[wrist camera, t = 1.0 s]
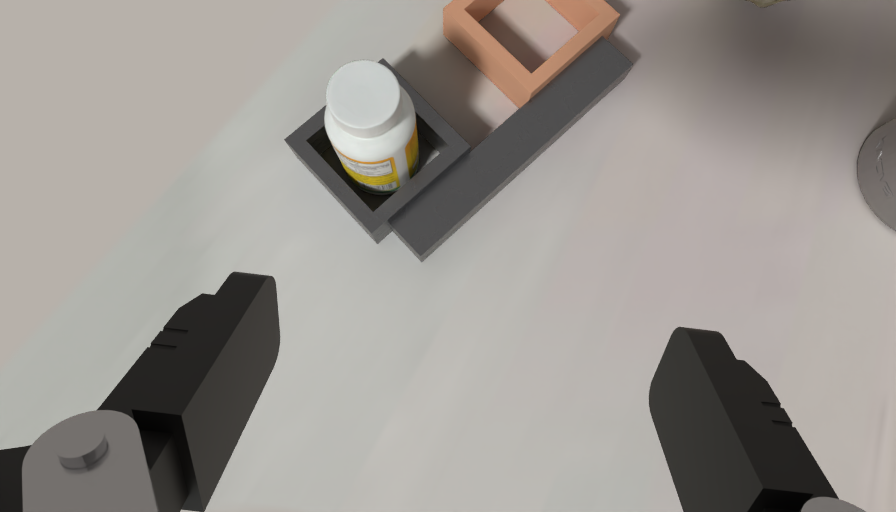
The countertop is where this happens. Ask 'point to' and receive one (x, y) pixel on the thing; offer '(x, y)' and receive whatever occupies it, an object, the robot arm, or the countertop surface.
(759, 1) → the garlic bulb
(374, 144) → the supplement bottle
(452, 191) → the rail
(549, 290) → the countertop surface
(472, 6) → the marked socket
